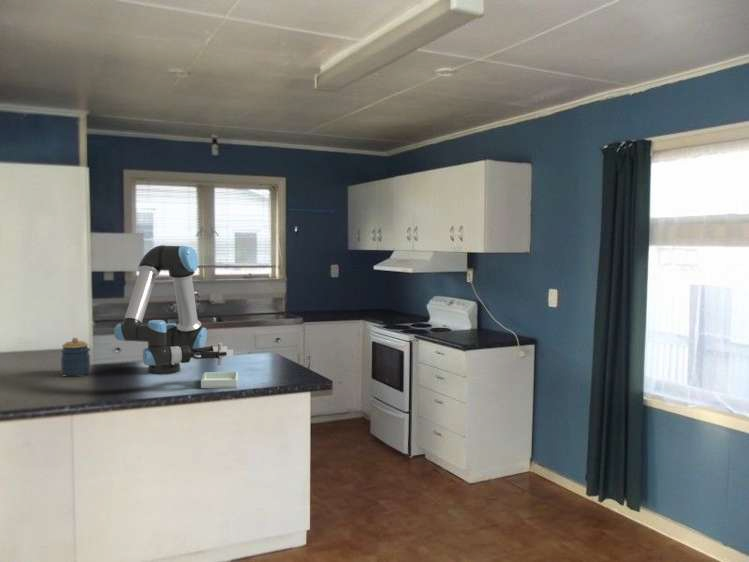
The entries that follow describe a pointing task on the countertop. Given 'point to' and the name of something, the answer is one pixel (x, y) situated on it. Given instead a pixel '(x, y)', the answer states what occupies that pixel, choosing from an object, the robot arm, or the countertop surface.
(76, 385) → the countertop surface
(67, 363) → the canister
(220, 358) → the pipe connector
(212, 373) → the tray
